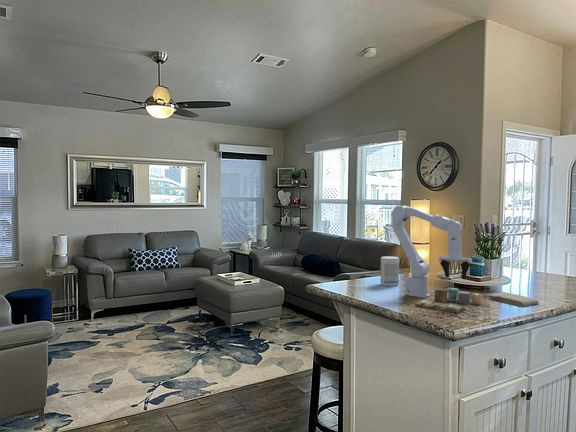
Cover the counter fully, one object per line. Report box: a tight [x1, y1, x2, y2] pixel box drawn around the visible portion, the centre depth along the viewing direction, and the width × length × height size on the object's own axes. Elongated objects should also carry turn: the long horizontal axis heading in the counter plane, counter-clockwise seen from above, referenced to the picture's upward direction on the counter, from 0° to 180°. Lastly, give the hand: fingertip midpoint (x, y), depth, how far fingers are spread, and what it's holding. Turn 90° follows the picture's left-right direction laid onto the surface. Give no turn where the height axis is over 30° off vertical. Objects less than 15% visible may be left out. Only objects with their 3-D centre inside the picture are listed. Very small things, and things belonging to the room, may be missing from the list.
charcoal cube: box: [457, 290, 471, 305], centre depth 191 cm, size 4×4×4 cm
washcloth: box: [488, 291, 540, 307], centre depth 194 cm, size 12×18×3 cm, turn 28°
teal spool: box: [446, 287, 460, 302], centre depth 195 cm, size 5×5×5 cm
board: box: [414, 299, 466, 314], centre depth 181 cm, size 18×8×1 cm, turn 49°
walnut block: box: [434, 287, 448, 304], centre depth 190 cm, size 4×4×6 cm
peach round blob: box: [470, 292, 483, 305], centre depth 189 cm, size 4×4×4 cm
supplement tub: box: [380, 255, 400, 287], centre depth 229 cm, size 10×10×15 cm
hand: (455, 277), depth 194 cm, fingers open, 7 cm apart
